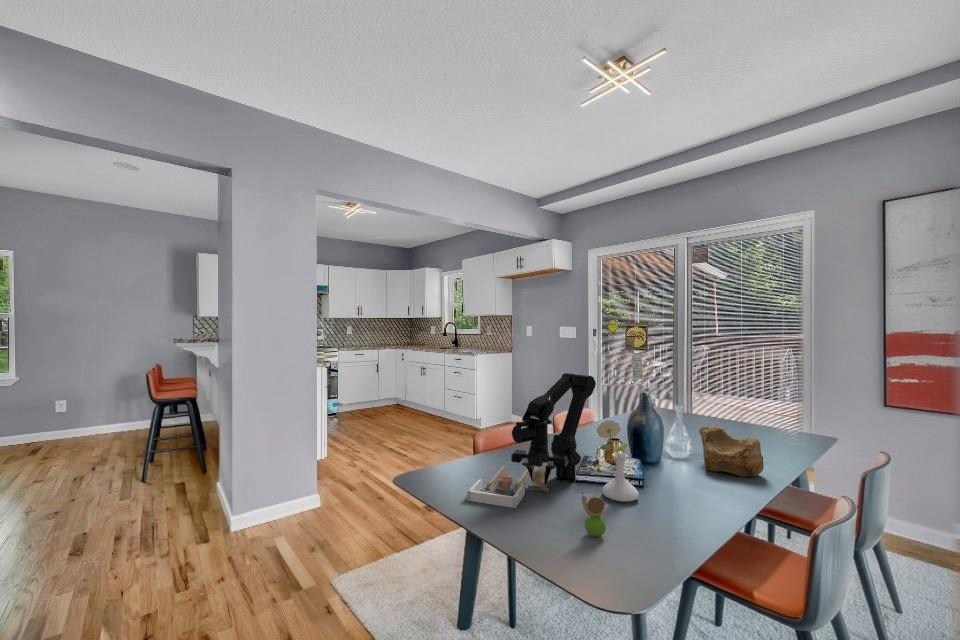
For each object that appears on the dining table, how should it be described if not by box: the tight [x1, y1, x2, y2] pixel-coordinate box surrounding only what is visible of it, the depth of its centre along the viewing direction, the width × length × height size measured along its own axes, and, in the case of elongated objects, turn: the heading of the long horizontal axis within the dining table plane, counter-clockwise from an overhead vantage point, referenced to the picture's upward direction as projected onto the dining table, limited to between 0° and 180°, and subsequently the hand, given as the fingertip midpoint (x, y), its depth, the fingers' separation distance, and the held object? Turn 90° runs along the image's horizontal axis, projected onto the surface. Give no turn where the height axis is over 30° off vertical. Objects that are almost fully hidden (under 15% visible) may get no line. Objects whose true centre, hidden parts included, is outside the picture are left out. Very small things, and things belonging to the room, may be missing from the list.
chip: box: [497, 477, 510, 491], centre depth 143 cm, size 3×3×3 cm
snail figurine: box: [580, 490, 607, 538], centre depth 111 cm, size 5×6×12 cm
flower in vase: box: [595, 419, 640, 503], centre depth 135 cm, size 13×11×25 cm
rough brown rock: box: [698, 426, 765, 478], centre depth 159 cm, size 23×16×15 cm
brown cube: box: [501, 473, 513, 487], centre depth 147 cm, size 3×3×3 cm
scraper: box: [527, 467, 550, 493], centre depth 143 cm, size 7×5×6 cm, turn 69°
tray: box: [466, 478, 526, 509], centre depth 136 cm, size 16×11×3 cm
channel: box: [486, 465, 530, 494], centre depth 149 cm, size 10×18×2 cm, turn 159°
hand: (539, 483), depth 143 cm, fingers closed on scraper, 4 cm apart
